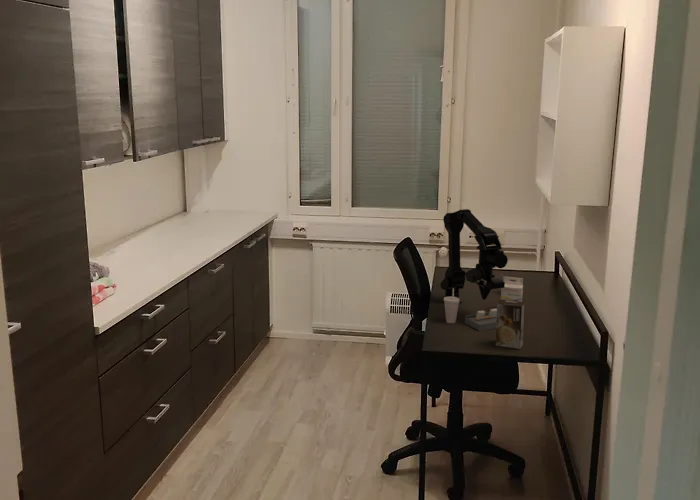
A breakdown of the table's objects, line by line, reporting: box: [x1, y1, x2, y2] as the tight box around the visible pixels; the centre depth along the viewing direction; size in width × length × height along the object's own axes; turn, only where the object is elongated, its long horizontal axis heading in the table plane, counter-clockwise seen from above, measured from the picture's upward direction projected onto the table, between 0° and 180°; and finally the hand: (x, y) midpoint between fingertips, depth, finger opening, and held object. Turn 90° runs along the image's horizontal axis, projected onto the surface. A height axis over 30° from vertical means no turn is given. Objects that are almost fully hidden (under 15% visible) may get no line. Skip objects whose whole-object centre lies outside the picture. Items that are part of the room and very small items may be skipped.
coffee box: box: [495, 298, 526, 350], centre depth 244 cm, size 9×6×16 cm
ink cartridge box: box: [500, 276, 524, 302], centre depth 280 cm, size 9×5×15 cm, turn 71°
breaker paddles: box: [475, 308, 497, 320], centre depth 267 cm, size 1×16×4 cm, turn 114°
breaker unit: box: [464, 311, 497, 332], centre depth 268 cm, size 10×19×3 cm, turn 114°
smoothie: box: [443, 288, 461, 324], centre depth 269 cm, size 6×6×14 cm
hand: (483, 299), depth 272 cm, fingers closed
